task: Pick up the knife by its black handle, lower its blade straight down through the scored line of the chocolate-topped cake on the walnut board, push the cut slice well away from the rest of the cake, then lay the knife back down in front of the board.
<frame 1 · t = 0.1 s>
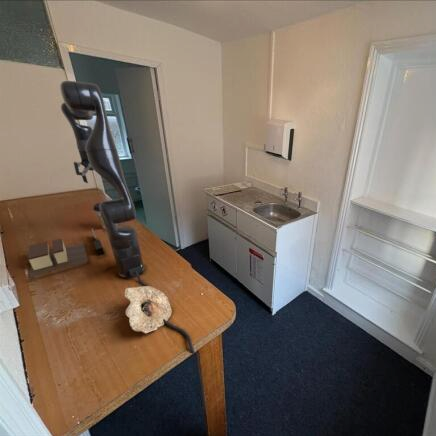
hand: (97, 181, 118), 29 cm above the table, tool pointing down, fingers open, 8 cm apart
knife: (100, 253, 112), on the table
coffee cup: (110, 228, 134), on the table
seashell: (151, 316, 82), on the table
cake slice: (62, 256, 105), point 1 cm above the table, touching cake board
cake: (43, 261, 101), point 1 cm above the table, touching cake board
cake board: (60, 260, 105), on the table
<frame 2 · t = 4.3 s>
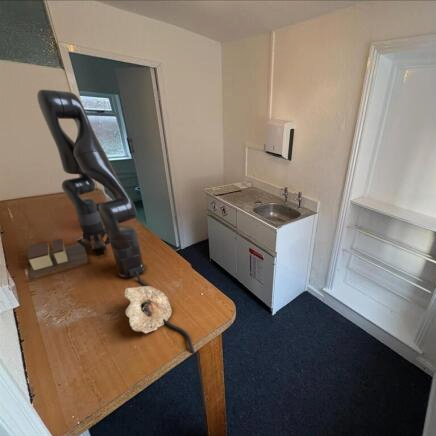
hand: (100, 253, 112), 0 cm above the table, tool pointing down, fingers closed on knife, 2 cm apart
knife: (100, 253, 112), on the table, touching gripper
everything else where it was.
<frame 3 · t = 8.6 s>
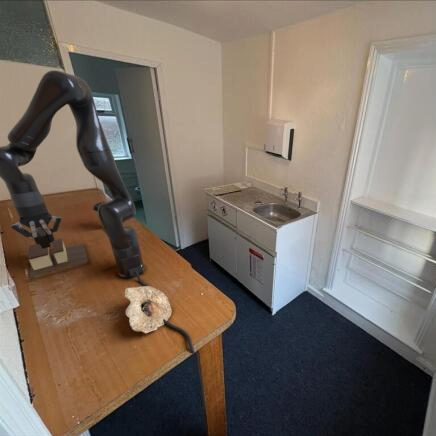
hand: (46, 242, 92), 14 cm above the table, tool pointing down, fingers closed on knife, 2 cm apart
knife: (46, 243, 92), point 14 cm above the table, touching gripper
everything else where it was.
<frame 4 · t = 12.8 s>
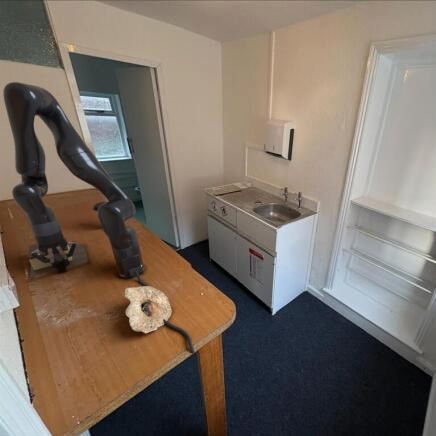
hand: (62, 266, 98), 2 cm above the table, tool pointing down, fingers closed on knife, 2 cm apart
knife: (62, 267, 98), point 2 cm above the table, touching cake slice, gripper
cake slice: (66, 255, 106), point 1 cm above the table, touching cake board, knife
everything else where it was.
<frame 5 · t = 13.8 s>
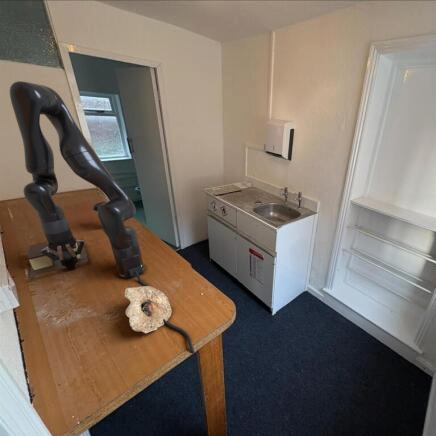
hand: (70, 264, 100), 2 cm above the table, tool pointing down, fingers closed on knife, 2 cm apart
knife: (70, 264, 100), point 2 cm above the table, touching cake slice, gripper
cake slice: (74, 253, 108), point 2 cm above the table, touching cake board, knife
everything else where it was.
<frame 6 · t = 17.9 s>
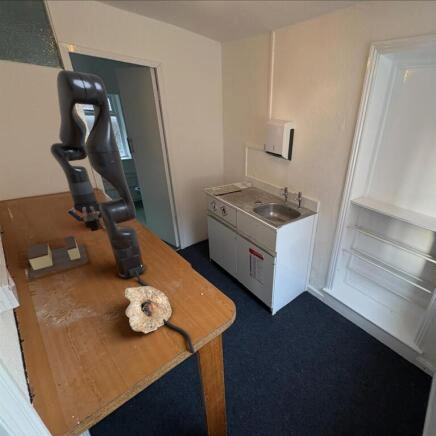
hand: (93, 226, 106), 14 cm above the table, tool pointing down, fingers closed on knife, 2 cm apart
knife: (93, 227, 106), point 14 cm above the table, touching gripper
cake slice: (74, 253, 108), point 1 cm above the table, touching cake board
everything else where it was.
when the fingers open (0 cm above the table, at t = 21.3 s): knife stays where it is, on the table.
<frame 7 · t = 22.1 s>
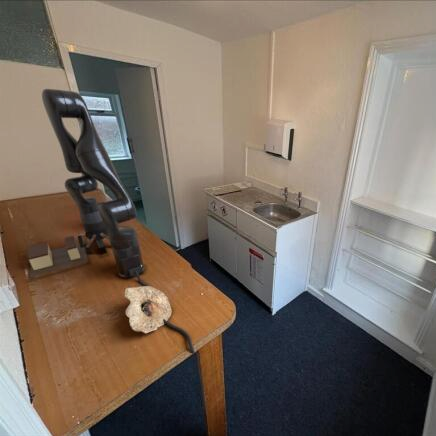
hand: (102, 250, 112), 1 cm above the table, tool pointing down, fingers open, 8 cm apart
knife: (103, 252, 113), on the table
everything else where it was.
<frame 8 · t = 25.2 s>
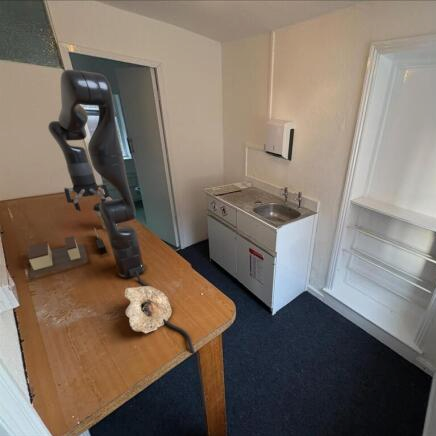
hand: (92, 208, 104), 23 cm above the table, tool pointing down, fingers open, 8 cm apart
nothing on the table moved.
at the end: cake slice touching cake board; cake slice moved 4.3 cm from its start; the gripper is holding nothing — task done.
